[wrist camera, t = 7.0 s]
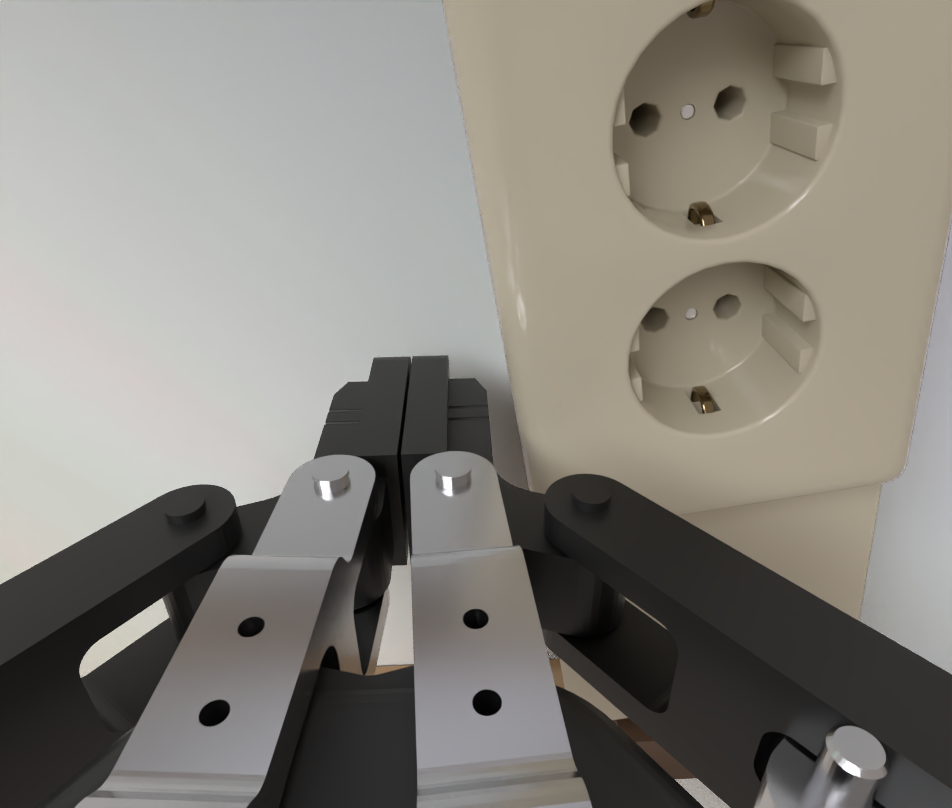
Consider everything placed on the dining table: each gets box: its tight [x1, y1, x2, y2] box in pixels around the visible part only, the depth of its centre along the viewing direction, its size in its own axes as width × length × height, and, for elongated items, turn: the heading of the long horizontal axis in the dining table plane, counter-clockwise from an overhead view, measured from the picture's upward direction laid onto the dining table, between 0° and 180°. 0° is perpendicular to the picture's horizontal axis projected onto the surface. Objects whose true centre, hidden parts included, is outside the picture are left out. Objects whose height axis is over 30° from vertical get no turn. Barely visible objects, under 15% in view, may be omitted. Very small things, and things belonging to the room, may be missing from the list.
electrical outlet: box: [442, 0, 952, 720], centre depth 14 cm, size 7×4×18 cm
